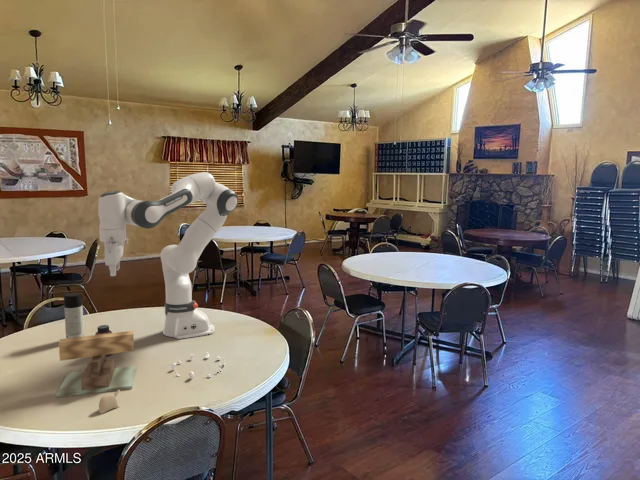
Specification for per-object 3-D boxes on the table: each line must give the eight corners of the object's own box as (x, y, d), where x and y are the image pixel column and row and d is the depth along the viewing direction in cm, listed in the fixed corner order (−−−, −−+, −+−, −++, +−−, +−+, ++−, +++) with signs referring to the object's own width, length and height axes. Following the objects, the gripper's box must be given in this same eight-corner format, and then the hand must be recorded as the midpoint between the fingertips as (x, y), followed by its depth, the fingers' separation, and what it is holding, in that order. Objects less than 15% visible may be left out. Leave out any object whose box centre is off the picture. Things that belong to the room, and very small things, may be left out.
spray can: (87, 337, 188) (85, 292, 186) (77, 343, 182) (74, 296, 179) (73, 336, 189) (70, 291, 186) (62, 342, 182) (59, 295, 180)
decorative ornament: (95, 410, 131) (94, 396, 130) (118, 401, 136) (117, 388, 136) (100, 414, 129) (100, 400, 128) (124, 405, 134) (123, 391, 134)
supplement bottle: (116, 353, 173) (115, 325, 172) (103, 358, 168) (102, 330, 166) (105, 350, 176) (104, 322, 174) (92, 355, 170) (91, 327, 169)
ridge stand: (136, 368, 160) (135, 342, 158) (132, 388, 145) (131, 359, 143) (68, 375, 153) (66, 348, 152) (56, 397, 138) (54, 367, 137)
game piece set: (207, 385, 149) (207, 374, 149) (159, 375, 156) (159, 364, 155) (236, 363, 168) (236, 353, 167) (192, 354, 174) (192, 345, 174)
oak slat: (133, 347, 154) (132, 330, 153) (133, 350, 151) (133, 334, 150) (60, 356, 144) (59, 339, 143) (59, 360, 141) (58, 342, 140)
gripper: (118, 239, 151) (120, 278, 153) (125, 232, 171) (127, 267, 173) (98, 240, 150) (101, 279, 152) (107, 232, 169) (109, 267, 171)
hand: (115, 273), depth 162 cm, fingers open, 8 cm apart
